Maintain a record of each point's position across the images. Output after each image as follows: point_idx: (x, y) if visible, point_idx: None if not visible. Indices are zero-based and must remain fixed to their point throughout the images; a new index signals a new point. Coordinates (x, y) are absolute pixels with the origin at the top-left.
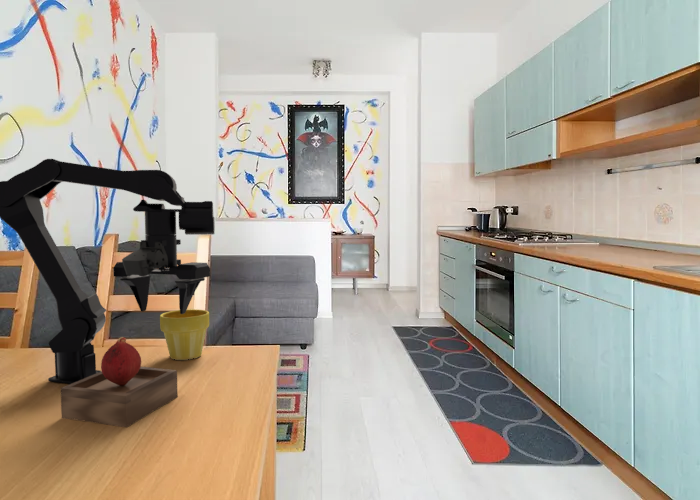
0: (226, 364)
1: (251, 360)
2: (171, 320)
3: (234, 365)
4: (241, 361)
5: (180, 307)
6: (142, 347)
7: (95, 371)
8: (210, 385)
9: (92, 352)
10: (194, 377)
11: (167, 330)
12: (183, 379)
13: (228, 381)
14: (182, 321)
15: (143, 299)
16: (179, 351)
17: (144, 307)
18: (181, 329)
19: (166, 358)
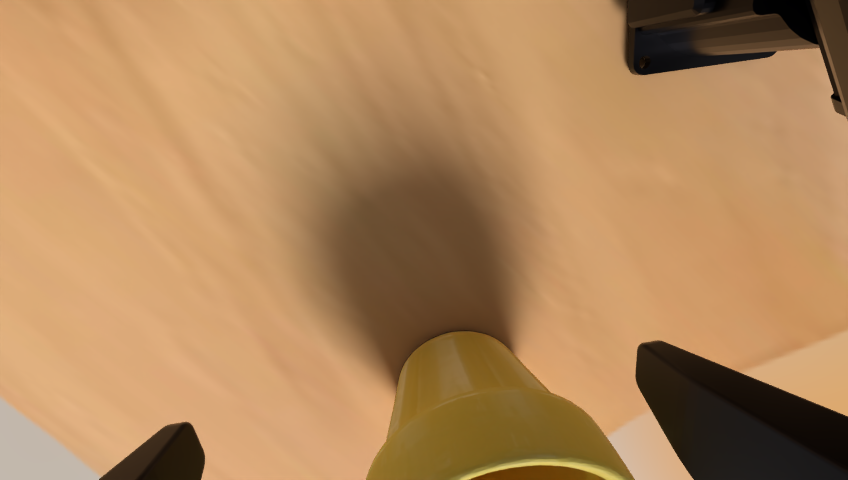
0: (229, 375)
1: None
2: (487, 448)
3: (189, 379)
4: (205, 422)
5: (132, 474)
6: None
7: (633, 20)
8: (57, 161)
9: (718, 2)
10: (212, 209)
11: (502, 393)
12: (233, 170)
13: (35, 231)
14: (418, 471)
15: (732, 458)
16: (440, 353)
17: (657, 390)
18: (420, 426)
19: (511, 330)
